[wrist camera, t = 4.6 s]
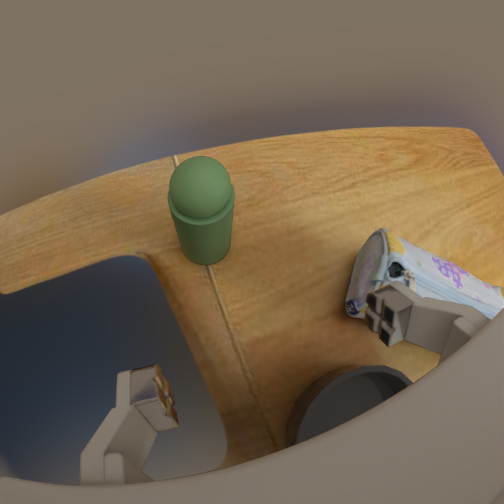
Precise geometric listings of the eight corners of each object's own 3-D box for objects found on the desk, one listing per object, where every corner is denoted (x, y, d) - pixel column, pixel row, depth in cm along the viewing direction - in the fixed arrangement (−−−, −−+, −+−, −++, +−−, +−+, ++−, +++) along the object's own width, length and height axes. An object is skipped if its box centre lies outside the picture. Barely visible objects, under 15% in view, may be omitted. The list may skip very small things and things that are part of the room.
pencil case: (328, 318, 27) (375, 299, 19) (347, 244, 31) (389, 201, 22) (464, 361, 27) (518, 352, 18) (471, 299, 30) (521, 278, 21)
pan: (322, 501, 20) (335, 516, 16) (260, 413, 23) (267, 422, 20) (416, 429, 23) (437, 434, 20) (369, 341, 27) (389, 337, 23)
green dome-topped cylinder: (194, 273, 28) (177, 214, 16) (173, 232, 29) (150, 157, 18) (239, 251, 29) (251, 182, 18) (216, 212, 30) (216, 131, 19)
